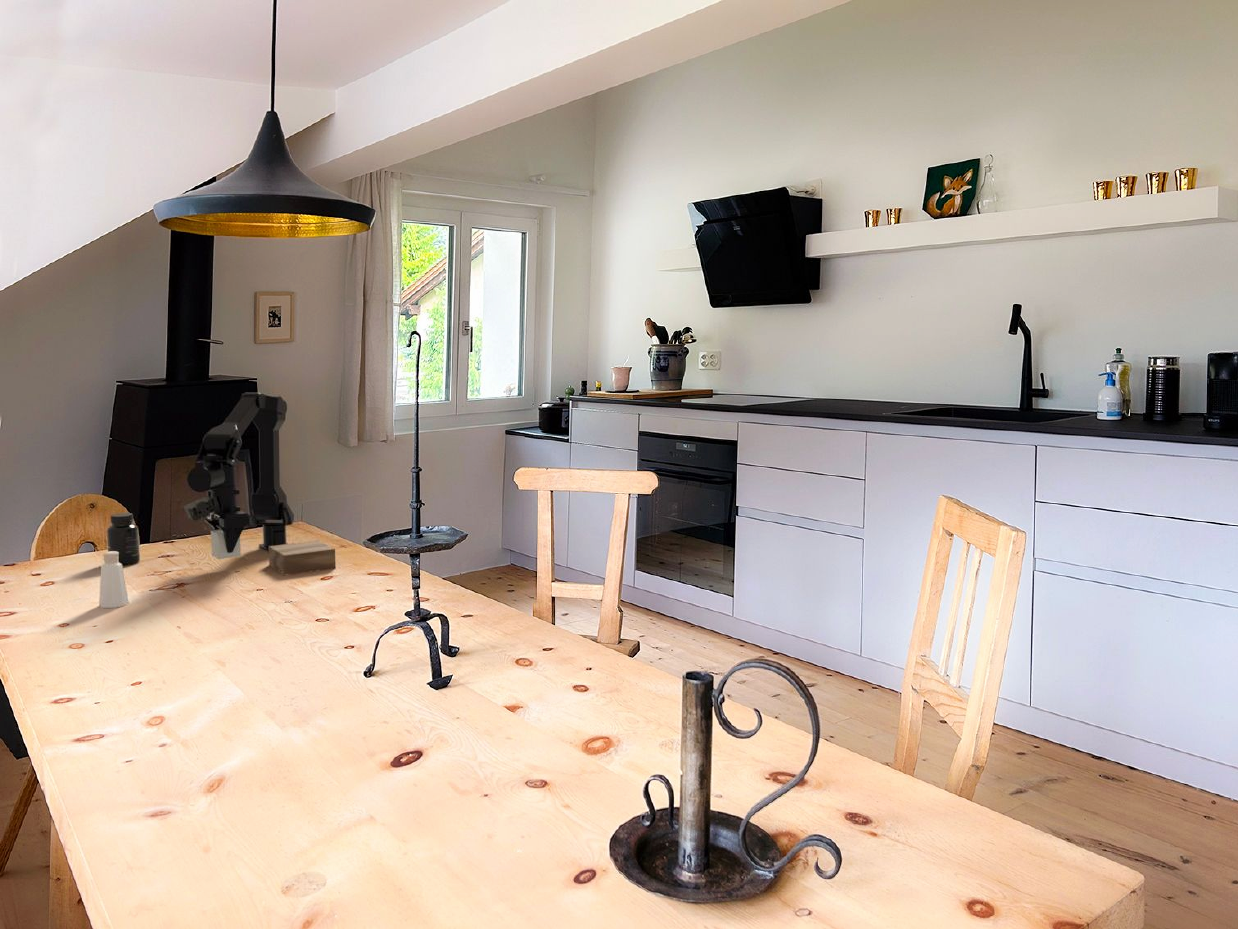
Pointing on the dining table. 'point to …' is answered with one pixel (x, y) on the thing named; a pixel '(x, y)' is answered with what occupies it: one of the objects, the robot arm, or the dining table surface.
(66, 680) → the dining table surface
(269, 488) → the robot arm
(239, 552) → the grey block
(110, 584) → the salt shaker
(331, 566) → the walnut box
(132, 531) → the supplement bottle
